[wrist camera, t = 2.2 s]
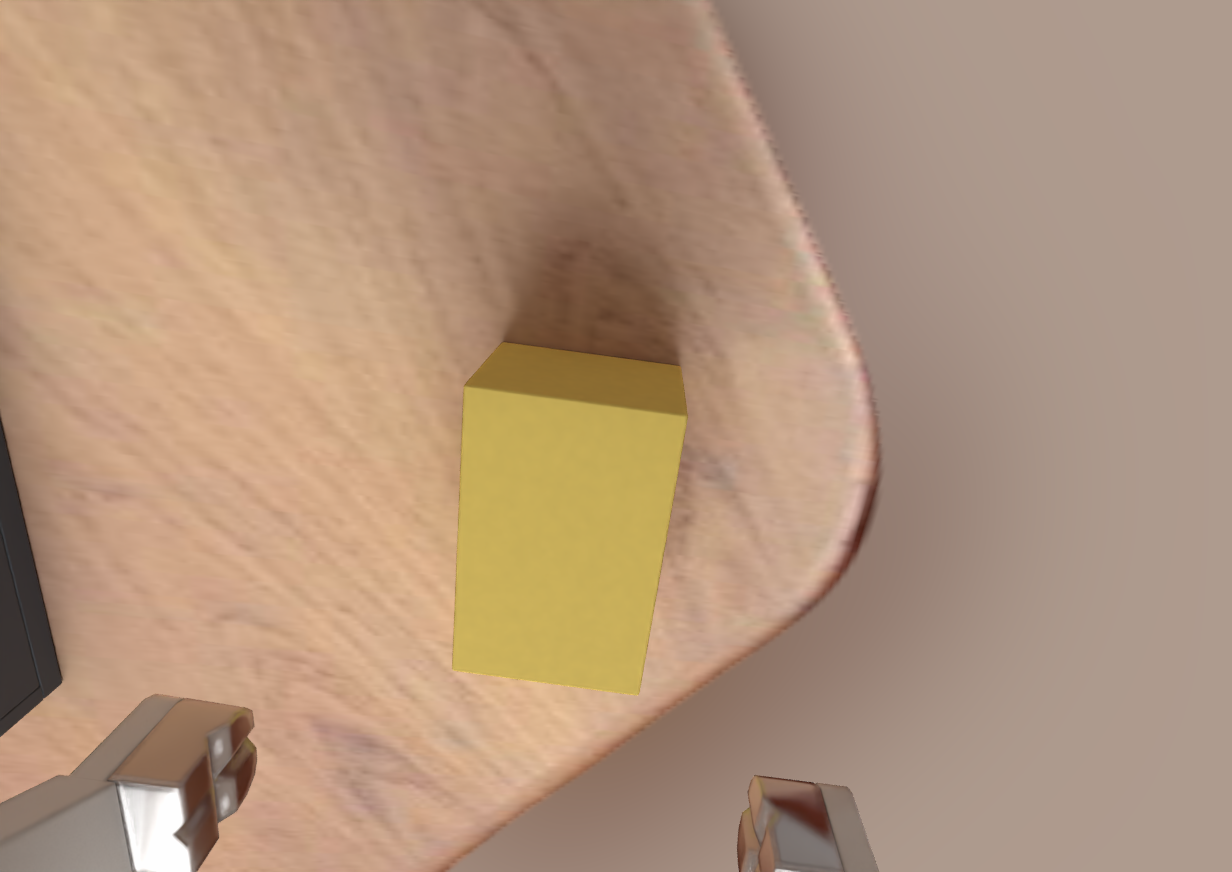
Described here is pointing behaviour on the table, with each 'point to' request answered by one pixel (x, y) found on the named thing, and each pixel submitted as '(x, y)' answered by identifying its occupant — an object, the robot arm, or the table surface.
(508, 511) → the sponge
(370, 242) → the table surface
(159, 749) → the robot arm
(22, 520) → the tray
